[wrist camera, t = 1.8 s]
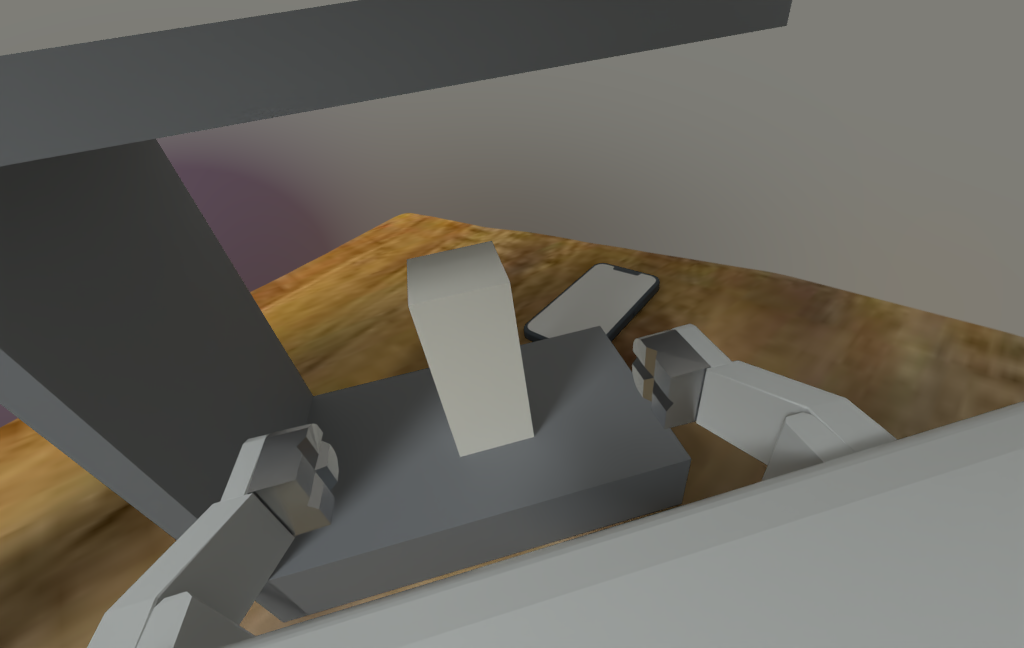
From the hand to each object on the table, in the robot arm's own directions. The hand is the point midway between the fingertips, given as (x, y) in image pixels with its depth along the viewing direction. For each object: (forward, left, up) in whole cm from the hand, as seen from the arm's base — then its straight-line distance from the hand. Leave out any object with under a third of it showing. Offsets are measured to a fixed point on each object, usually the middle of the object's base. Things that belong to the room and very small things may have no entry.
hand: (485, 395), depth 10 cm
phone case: (+14, +28, -20) cm, 37 cm away
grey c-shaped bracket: (-2, +12, -20) cm, 23 cm away
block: (0, +12, -15) cm, 19 cm away
